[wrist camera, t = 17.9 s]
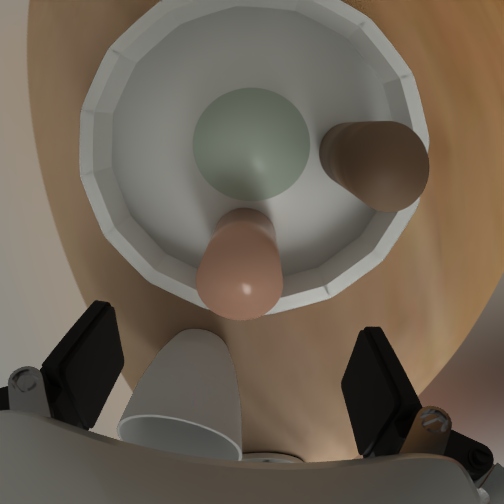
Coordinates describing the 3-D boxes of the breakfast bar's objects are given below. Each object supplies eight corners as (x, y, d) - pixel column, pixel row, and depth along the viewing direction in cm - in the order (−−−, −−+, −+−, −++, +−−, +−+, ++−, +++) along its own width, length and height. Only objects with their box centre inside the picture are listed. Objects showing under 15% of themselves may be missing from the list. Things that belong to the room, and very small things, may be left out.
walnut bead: (374, 190, 17) (419, 217, 12) (315, 181, 17) (341, 206, 12) (383, 129, 16) (434, 133, 10) (322, 117, 16) (354, 111, 10)
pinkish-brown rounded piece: (279, 210, 18) (289, 248, 13) (272, 269, 20) (277, 323, 14) (215, 205, 18) (195, 239, 13) (212, 263, 20) (195, 315, 14)
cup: (137, 332, 24) (93, 422, 14) (213, 297, 22) (188, 404, 13) (190, 389, 26) (171, 476, 17) (264, 365, 25) (265, 465, 15)
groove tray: (369, 293, 22) (384, 319, 18) (113, 270, 21) (93, 293, 18) (409, 33, 14) (433, 21, 10) (121, 9, 13) (99, -7, 10)
